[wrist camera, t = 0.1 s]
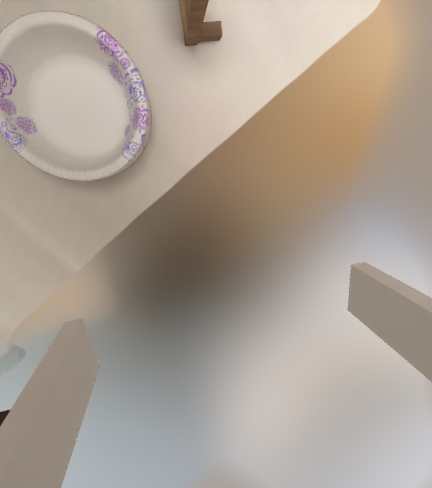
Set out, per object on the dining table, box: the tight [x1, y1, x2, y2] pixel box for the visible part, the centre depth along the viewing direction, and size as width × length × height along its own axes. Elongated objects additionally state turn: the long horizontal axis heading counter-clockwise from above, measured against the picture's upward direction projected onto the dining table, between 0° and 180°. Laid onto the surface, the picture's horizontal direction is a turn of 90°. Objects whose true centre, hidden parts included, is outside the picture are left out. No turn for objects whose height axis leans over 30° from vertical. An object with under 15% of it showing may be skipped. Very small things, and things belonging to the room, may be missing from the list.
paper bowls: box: [0, 11, 152, 181], centre depth 29 cm, size 15×15×8 cm
